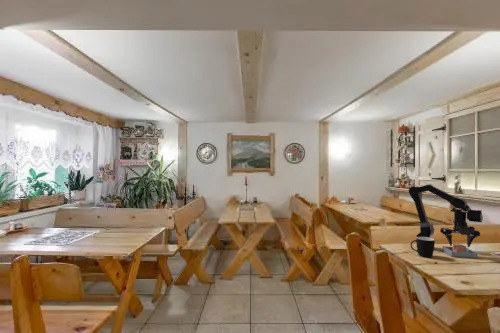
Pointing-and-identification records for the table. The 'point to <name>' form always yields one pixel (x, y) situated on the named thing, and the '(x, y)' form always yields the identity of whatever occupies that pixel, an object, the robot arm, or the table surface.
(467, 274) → the table surface
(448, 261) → the table surface
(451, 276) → the table surface
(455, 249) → the red block
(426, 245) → the mug
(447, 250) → the tray
